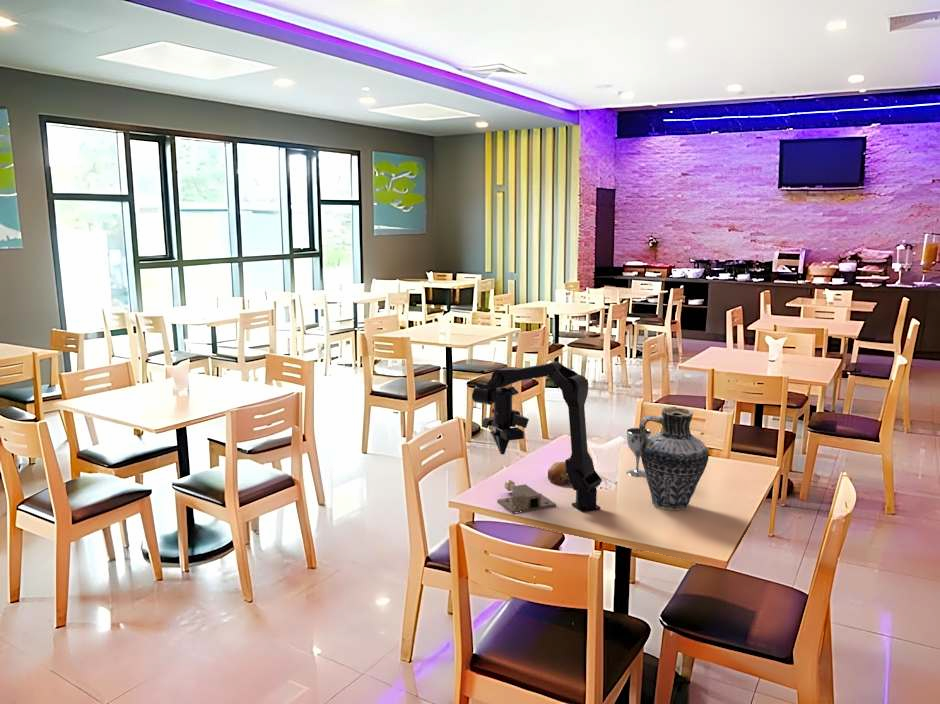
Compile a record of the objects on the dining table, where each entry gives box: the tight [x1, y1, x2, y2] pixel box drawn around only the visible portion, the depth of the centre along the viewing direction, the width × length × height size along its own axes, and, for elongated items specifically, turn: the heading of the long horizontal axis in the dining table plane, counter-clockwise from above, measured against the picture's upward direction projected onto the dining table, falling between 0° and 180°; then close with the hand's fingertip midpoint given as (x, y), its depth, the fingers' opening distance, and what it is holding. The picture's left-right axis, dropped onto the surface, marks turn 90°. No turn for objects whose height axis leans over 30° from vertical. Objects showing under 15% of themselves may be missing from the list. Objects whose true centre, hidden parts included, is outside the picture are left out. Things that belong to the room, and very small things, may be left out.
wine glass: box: [626, 427, 652, 478], centre depth 258 cm, size 8×8×15 cm
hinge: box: [496, 484, 557, 514], centre depth 230 cm, size 10×15×4 cm
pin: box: [504, 480, 516, 492], centre depth 235 cm, size 12×3×3 cm, turn 24°
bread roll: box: [547, 461, 572, 486], centre depth 252 cm, size 10×10×8 cm
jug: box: [639, 406, 710, 511], centre depth 227 cm, size 21×19×30 cm
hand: (502, 454), depth 244 cm, fingers closed
